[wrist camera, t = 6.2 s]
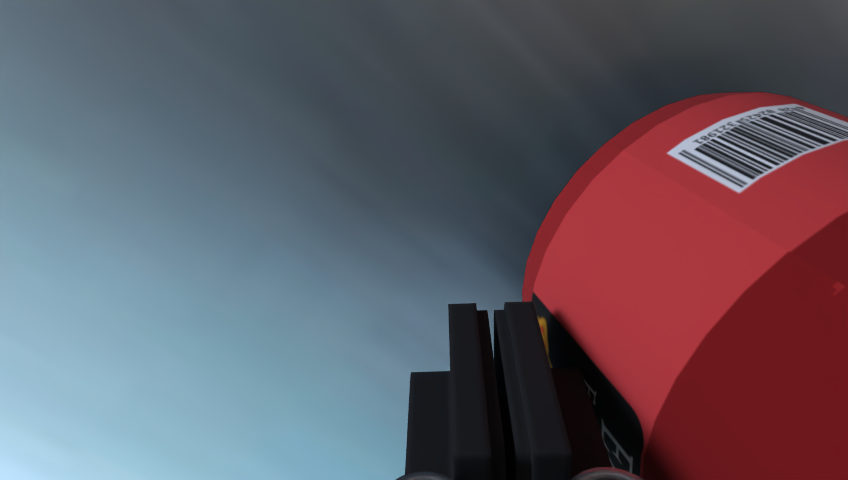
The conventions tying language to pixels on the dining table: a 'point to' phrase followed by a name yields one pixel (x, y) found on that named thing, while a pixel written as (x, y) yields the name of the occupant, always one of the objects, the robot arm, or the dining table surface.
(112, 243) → the dining table surface
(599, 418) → the canned food
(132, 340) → the dining table surface
